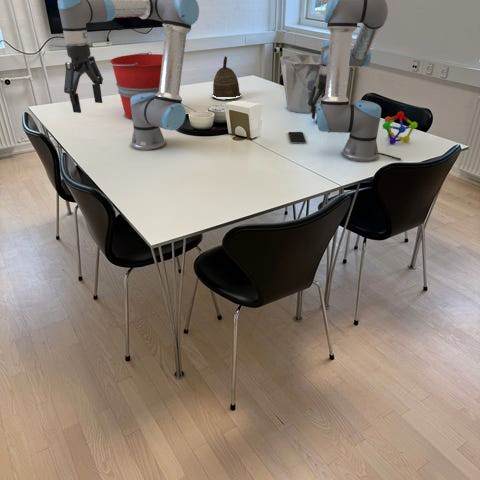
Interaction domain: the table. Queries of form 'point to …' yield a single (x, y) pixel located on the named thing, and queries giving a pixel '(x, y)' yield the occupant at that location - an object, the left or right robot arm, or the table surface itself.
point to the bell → (225, 82)
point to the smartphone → (296, 137)
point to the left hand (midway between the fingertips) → (88, 107)
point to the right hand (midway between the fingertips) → (322, 118)
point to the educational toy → (398, 128)
